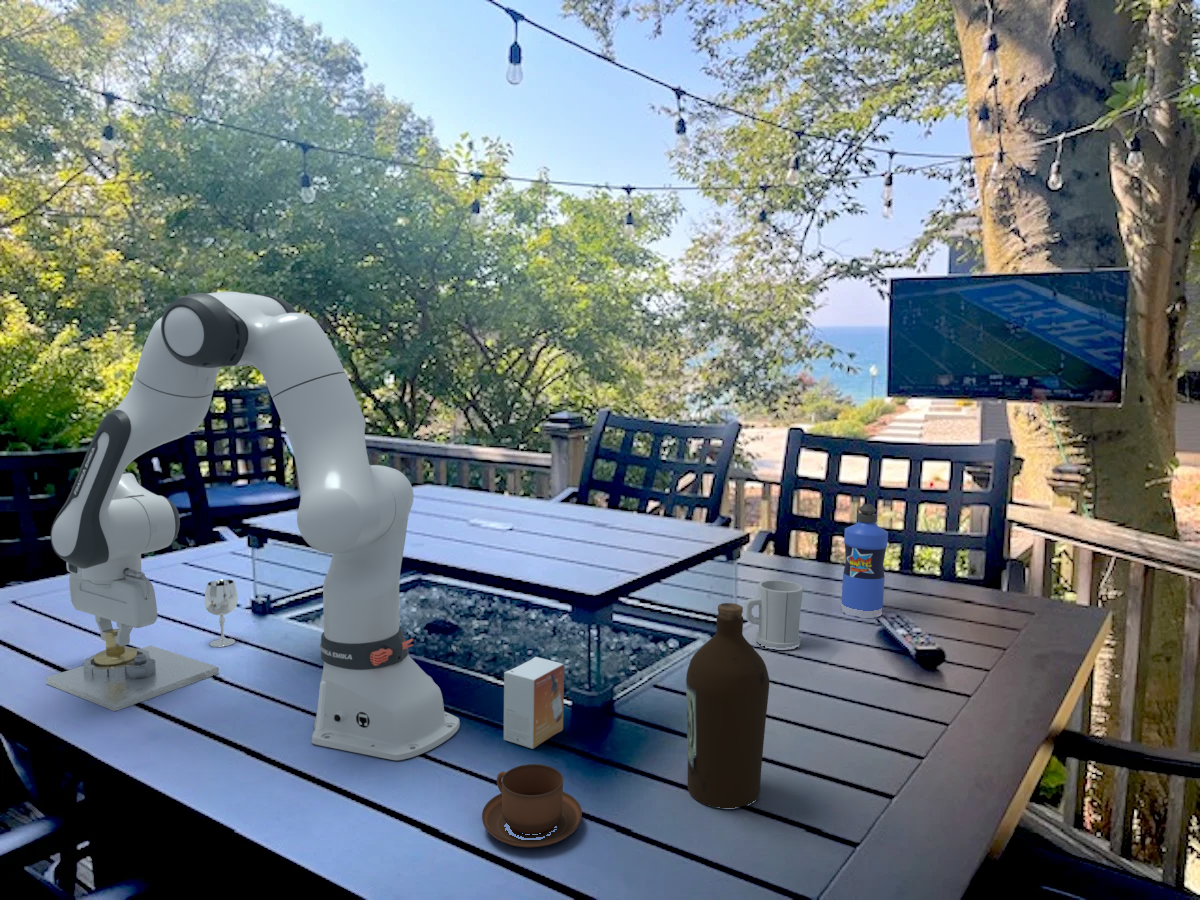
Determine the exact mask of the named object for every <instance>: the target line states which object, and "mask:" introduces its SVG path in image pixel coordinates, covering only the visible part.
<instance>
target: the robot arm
mask: <svg viewBox="0 0 1200 900" xmlns="http://www.w3.org/2000/svg"><path fill="white" fill-rule="evenodd" d="M248 366H253V367H254V368H255V369H256V370H258V371H259V372H260V374H261V376H262V377H263V380H264V381H265V384H266V386H267V388H268V392H269V394H270V396H271V398H272V401H273V403H274V406H275V409H276V410H277V413H278V415H279V417H280V420H281V423H282V425H283V427H284V430H285V432H286V435H287V437H288V440H289V443H290V446H291V449H292V452H293V456H294V461H295V466H296V473H297V478H298V484H299V486H298V487H299V494H300V498H299V500H300V501H299V506H298V510H297V515H296V522H297V528H298V530H299V533H300V535H301V537H302V538H303V540H304V541H305V542H306V543H307V544H308V545H309V547H312V549H314V550H316V551H318V552H321V553H323V554H332V557H331V561H330V564H329V568H328V570H327V573H326V575H325V577H324V579H323V585H322V592H323V593H322V597H323V599H322V600H323V602H322V603H323V605H322V607H323V632H322V633H321V636H320V645H319V648H320V658H321V660H322V661H323V667H322V674H321V677H320V684H319V690H318V701H317V712H316V716H315V718H314V719H315V720H314V722H313V728H314V731H313V732H312V734H311V735H312V736H311V743H312V745H313V744H314V745H316V746H321V747H326V748H331V749H335V750H339V751H340V750H341V751H346V752H351V753H356V754H360V755H366V756H371V757H375V758H382V759H387V760H391V761H403V760H406V759H410V758H415V757H417V756H419V755H422V754H424V753H426V752H430V750H433V749H435V748H436V747H438V746H440V745H441V744H443V743H446V741H447V740H449V739H450V738H451V737H453V736H454V735H455V734H456V733H457V732H458V730H459V729H460V725H461V722H460V718H459V717H457V716H455V715H453V714H451V713H449V712H447V711H445V708H444V699H443V693H442V691H441V688H440V687H439V686H438V684H436V683H435V681H434V680H433V678H432V677H431V676H430V675H428V674H427V673H426V672H425V671H424V670H423V669H422V668H421V667H420V666H419V664H417V663H416V662H415V660H414V659H413V658H412V657H411V656H410V655H409V653H410V651H409V648H410V647H413V646H414V644H413V643H412V642H413V641H414V638H410V639H408V640H406V638H405V635H404V633H403V632H404V631H403V630H402V627H401V626H400V578H401V577H400V576H401V569H402V562H403V556H404V550H405V544H406V537H407V530H408V529H407V528H408V521H409V516H410V512H411V510H412V507H413V503H414V490H413V486H412V484H411V481H410V480H409V478H407V476H406V475H405V474H404V473H402V472H401V471H400V470H398V469H396V468H393V467H390V466H385V465H379V464H370V461H369V456H368V451H367V445H366V436H365V435H366V434H365V432H366V419H365V416H364V414H363V411H362V409H361V406H360V404H359V402H358V400H357V396H356V395H355V392H354V390H353V387H352V385H351V383H350V381H349V378H348V374H346V370H345V368H344V366H343V364H342V362H341V360H340V357H339V356H338V354H337V352H336V349H334V345H332V342H331V341H330V339H329V338H328V336H327V335H326V333H325V331H324V330H323V329H322V327H321V326H320V324H319V322H318V321H317V320H316V319H315V318H313V316H310V315H308V314H305V313H302V312H297V310H296V309H295V307H293V305H292V304H291V303H290V302H288V301H286V300H284V299H283V298H280V297H277V296H274V295H271V294H266V293H265V294H264V293H263V294H262V293H260V294H256V293H255V294H254V293H247V292H246V293H245V292H238V291H216V292H209V293H206V292H204V293H203V292H196V293H195V292H194V293H190V294H186V295H184V296H181V297H178V298H176V299H174V300H173V301H171V302H170V303H169V304H168V305H167V307H166V308H165V309H164V312H163V314H162V316H161V317H159V318H158V319H157V320H156V321H155V323H154V324H153V325H152V328H151V330H150V332H149V333H148V336H147V338H146V341H145V343H144V345H143V348H142V351H141V353H140V357H139V360H138V364H137V367H136V372H135V375H134V379H133V382H132V385H131V386H130V389H129V390H128V392H127V394H126V395H125V397H124V398H123V399H122V401H121V402H120V403H119V405H118V406H117V407H116V408H115V409H114V410H112V411H111V412H109V413H108V414H106V416H105V417H103V419H102V420H101V422H100V423H99V424H98V426H97V428H96V431H95V433H94V435H93V437H92V440H91V442H90V444H89V447H88V448H87V451H86V454H85V456H84V459H83V462H82V464H81V466H80V469H79V471H78V474H77V476H76V478H75V481H74V483H73V486H72V488H71V491H70V493H69V494H68V497H67V499H66V501H65V503H64V504H63V506H62V507H61V509H60V510H59V512H58V513H57V514H56V517H55V518H54V520H53V522H52V525H51V527H50V528H51V530H50V544H51V547H52V549H53V551H54V553H55V554H56V555H57V556H58V558H60V559H62V560H63V561H65V562H66V571H67V572H68V573H70V574H69V576H68V577H69V578H68V583H69V593H70V594H69V595H70V602H71V605H72V606H73V608H74V609H75V610H76V611H80V612H83V613H86V614H89V615H92V616H94V617H95V622H96V625H97V627H98V629H99V631H100V640H101V641H104V642H106V640H105V632H106V631H108V630H112V629H114V628H113V624H112V622H115V623H116V627H117V629H119V630H118V634H117V635H114V638H115V644H116V645H119V646H124V645H125V646H127V645H129V644H130V642H131V640H130V634H131V633H132V630H133V628H134V629H140V628H143V627H148V626H151V625H154V624H155V623H156V621H157V620H158V606H157V605H158V604H157V600H156V592H155V591H156V590H155V588H154V586H153V583H152V582H151V581H150V580H149V579H148V577H147V576H146V574H145V573H144V572H143V571H142V569H143V568H142V554H148V553H152V552H155V551H159V550H162V549H165V548H169V547H170V546H171V545H172V544H173V543H174V542H175V540H176V539H177V537H178V534H179V531H180V526H181V523H180V520H181V519H180V514H179V510H178V508H177V506H176V505H175V504H174V502H172V501H171V500H170V499H169V498H167V497H166V496H165V495H164V496H163V495H158V494H156V493H154V492H152V491H150V490H148V489H146V488H145V487H143V486H142V485H141V484H140V483H138V480H137V478H136V476H135V475H134V474H133V473H131V472H129V471H125V470H126V468H128V466H129V465H130V464H131V463H132V462H133V461H134V460H135V459H137V458H138V457H140V456H142V455H143V454H145V453H147V452H149V451H150V450H153V449H155V448H157V447H160V446H161V445H163V444H167V443H170V442H172V441H175V440H178V439H181V438H183V437H185V436H187V435H188V434H190V433H192V432H193V431H194V430H196V429H197V428H198V427H199V426H200V425H201V424H202V422H203V421H204V420H205V418H206V416H207V413H208V411H209V409H210V406H211V401H212V398H213V393H214V390H215V385H216V381H217V376H218V373H219V371H220V369H221V367H222V368H223V367H225V368H226V367H248ZM411 643H412V644H411Z"/></svg>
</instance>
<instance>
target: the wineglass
mask: <svg viewBox="0 0 1200 900" xmlns="http://www.w3.org/2000/svg"><path fill="white" fill-rule="evenodd" d="M205 588H206V589H205V595H204V607H205V609H206V611H207V612H208V613H209V614H211V615H215V616H219V619H218V622H219V626H220V638H218V639H216V640H215V639H214V640H212V641H211V642H210V643H209V646H211V647H214V648H223V647H228V646H232V645H234V644H235V643H236V640H235V639H233V638H226V637H225V635H224V634H225V633H224V625H225V619H226V618H225V617H224V616H226V615H229V614H230V613H231V612H232V613H233V611H234V610H235V609H236V607H237V605H238V600H239V599H238V592H237V587H236V584H235V581H234V580H232V579H216V580H213V581H208V582H207V584H206V587H205Z"/></svg>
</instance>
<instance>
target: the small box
mask: <svg viewBox="0 0 1200 900" xmlns="http://www.w3.org/2000/svg"><path fill="white" fill-rule="evenodd" d="M503 676H504V677H503V740H504V741H506V742H510V743H514V744H516V745H519V746H523V747H526V748H529V749H532V750H533V749H535V748H536V747H538V746H539V745H541V744H542V743H544V742H545V741H548V740H549V739H550V738H552V737H553V736H555V735H556V734H558V733H561V732H562V731H563V729H564V702H565V701H564V696H565V693H564V691H565V664H564V663H561V662H557V661H554V660H550V659H547V658H542V657H539V656H534V657H533V658H532V659H530V660H528V661H526V662H523V663H521V664H520V665H517V666H516V667H513V668H511V669H510V670H507V671H504V672H503Z"/></svg>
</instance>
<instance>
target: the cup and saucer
mask: <svg viewBox="0 0 1200 900" xmlns="http://www.w3.org/2000/svg"><path fill="white" fill-rule="evenodd" d="M496 785H497V788H498V791H499V792H500V793H499V794H497V795H495V796H494V797H491V798H490V800H489V801H488V802H487V803H486V804H485V806H484V807H483V809H482V812H481V813H482V814H481V819H482V825H483V826H484V828H485V830H486V831H487V832H488V833H489V834H490V835H491V836H492V837H493V838H495V839H496V840H498V841H499V842H502V843H504V844H507V845H509V846H514V847H520V848H540V847H547V846H549V845H553V844H556V843H559V842H561V841H563V840H565V839H566V838H568V837H569V836H570V835H571V834H573V833H574V832H575V831H576V829H578V827H579V825H580V824H581V821H582V815H583V810H582V807H581V804H580V803H579V801H577V799H576V798H575V797H573V796H572V795H570V793H569V794H568V793H567V792H565V791H564V777H563V774H562V773H561V772H560V771H559V770H558V769H556V768H555V767H552V766H550V765H545V764H538V763H532V764H531V763H529V764H527V763H526V764H524V765H523V764H522V765H518V766H515V767H513V768H511V769H509V770H507V771H504V770H503V771H500V772H499V773H498V774H497V775H496ZM506 823H507V824H508V825H509V826H510V829H511V830H512V832H513V833H514V834H516V836H517V835H519V837H520V836H522V837H524V838H536V837H543V836H545V838H543V839H541V840H521V839H518V838H516V837H514V836H512V835H509V833H508V831H507V830H506V831H505V828H506V827H504V825H505V824H506ZM555 826H557V828H554V827H555ZM554 829H557V830H555V832H551V831H553V830H554ZM549 832H551V835H550V836H546V835H547V834H550V833H549ZM522 833H523V834H522ZM539 833H541V834H539ZM525 834H530V835H525ZM532 834H538V835H532Z"/></svg>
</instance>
